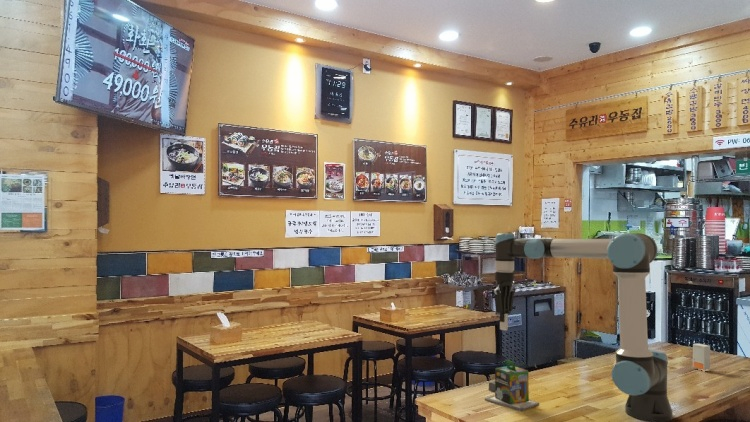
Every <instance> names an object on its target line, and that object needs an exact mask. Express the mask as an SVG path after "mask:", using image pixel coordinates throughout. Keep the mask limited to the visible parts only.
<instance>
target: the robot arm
mask: <svg viewBox="0 0 750 422" xmlns="http://www.w3.org/2000/svg"><path fill="white" fill-rule="evenodd" d="M494 245H495V261H494V262H495V264H494V265H495V267H494V268H495V270H494V271H495V272H494V280H495V281H496V287H495V289H492V293H493V296H494V297H493V298H494V305H495V312H496V313H497V314H499V330H501V331H505V332H506V331H508V328H509V327H508V325H509V315H510V314H511V313H512V311H513V304H514V297H515V292H516V290H517V288H515V287H513V282H514V281H515V273H514V272H515V258H519V259H531V260H532V259H533V260H535V259H541V258H564V259H566V258H567V259H595V260H596V259H599V260H600V259H601V260H609V262H611V263H610V264H612V273H613V274H614V275H615V276H616V277H617V293H618V294H617V295H618V318H619V319H618V320H619V342H620V343H619V345H620V346H619V348H618V349H617V350H615V364H614V365H613V367H612V369H611V370H612V371H611V380H612V381H613V384H614V385H615V387H616V388H617V389H618V390H619V391H621V392H622V393H624V394H625V395H628V397H627V400H626V403H625V408H624V409H625V413H626V414H627V415H629V416H631V417H633V418H635V419H638V420H642V421H648V422H669V421H670V422H671V421H672V420H673V415H674V414H673V410H672V407H671V406H672V405H671V403H670V400H669V398H668V363H669V361H668V356H667V353H665V352H663V351H660V350H654V349H649V341H648V339H649V337H648V320H647V319H648V315H647V314H648V313H647V291H646V290H647V288H646V277H647V276H648V275H650V273H651V267H650V264H651V263H653V261H655V259H656V258H657V256H658V246H657V243H656V242H655V240H654V239H653V238H652V237H651V236H649V235H648V234H645V233H638V232H636V233H634V232H632V233H631V232H626V233H622V234H618V235H616V236H615V237H613V238H515V234H514V233H503V232H500V233H497V234H496V235H495V243H494Z"/></svg>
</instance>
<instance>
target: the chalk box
mask: <svg viewBox="0 0 750 422" xmlns="http://www.w3.org/2000/svg"><path fill="white" fill-rule="evenodd" d="M505 364H506V366H501V367H496V368H494V369H495V370H494V377H495V378H494V379H495V380H494V381H495V392H494V395H495V398H498V399H500V400H502V401H504V402H506V403H508V404H515V403H520V402H526V401H529V400H530V399H529V398H530V397H529V396H530V395H529V394H530V392H529V370H528V369H525V368H521V367H518V366H515V365H516V364H515V362H514V361H512V360H510V359H505Z"/></svg>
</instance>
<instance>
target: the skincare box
mask: <svg viewBox="0 0 750 422" xmlns="http://www.w3.org/2000/svg"><path fill="white" fill-rule="evenodd" d="M693 367H694V368H698V369H703V370H706V369H710V370H711V346H710V345H708V344H703V343H698V342H697V343H693V344H692V368H693Z"/></svg>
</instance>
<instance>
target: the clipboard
mask: <svg viewBox="0 0 750 422" xmlns="http://www.w3.org/2000/svg"><path fill="white" fill-rule="evenodd" d="M484 401H487V402H490V403H493V404H497V405H499V406H503V407H506V408H509V409H513V410H516V411H519V412H523V411H525V410H529V409H530V408H534V407H536V406H539V405H540V402H537V401H534V400H530V399H529V401H526V402H520V403H515V404H508V403H506V402H504V401H502V400H500V399H498V398H495V394H494V395H492V396H487V397H485V398H484Z"/></svg>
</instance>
